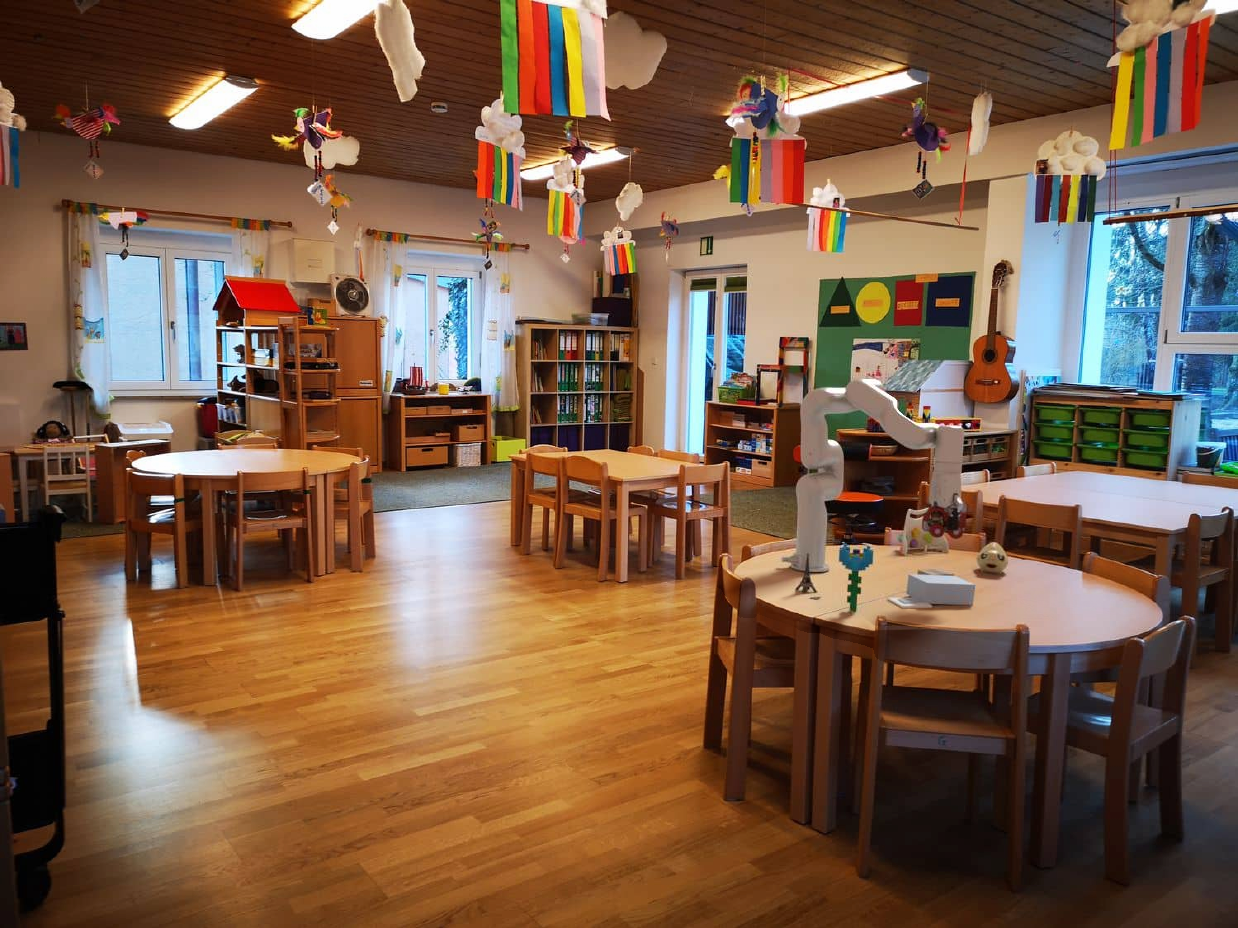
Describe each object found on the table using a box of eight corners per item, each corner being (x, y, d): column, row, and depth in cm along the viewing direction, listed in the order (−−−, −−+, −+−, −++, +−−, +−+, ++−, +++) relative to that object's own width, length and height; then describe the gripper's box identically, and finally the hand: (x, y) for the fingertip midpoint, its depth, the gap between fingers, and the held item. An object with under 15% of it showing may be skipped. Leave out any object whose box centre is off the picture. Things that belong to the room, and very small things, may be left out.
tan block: (930, 594, 266) (931, 574, 265) (916, 588, 273) (917, 569, 272) (953, 593, 268) (954, 573, 267) (938, 587, 275) (940, 568, 274)
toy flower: (869, 615, 239) (873, 550, 237) (835, 612, 242) (839, 548, 240) (870, 607, 248) (873, 544, 246) (837, 604, 250) (840, 542, 248)
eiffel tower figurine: (818, 601, 255) (820, 556, 254) (784, 597, 259) (786, 552, 258) (829, 590, 268) (832, 547, 267) (797, 586, 273) (799, 544, 271)
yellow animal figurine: (974, 575, 292) (976, 544, 291) (976, 568, 303) (978, 538, 302) (1006, 579, 288) (1009, 547, 287) (1007, 572, 299) (1009, 541, 298)
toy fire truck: (919, 532, 261) (921, 498, 260) (963, 535, 259) (966, 500, 257) (923, 537, 254) (925, 501, 253) (968, 539, 252) (971, 504, 251)
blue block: (925, 603, 251) (927, 582, 251) (906, 593, 262) (908, 574, 262) (972, 605, 254) (975, 584, 254) (952, 595, 265) (954, 575, 264)
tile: (902, 608, 248) (902, 604, 248) (887, 599, 257) (887, 596, 257) (931, 607, 250) (932, 604, 250) (916, 599, 259) (916, 596, 258)
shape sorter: (929, 552, 331) (932, 505, 330) (949, 557, 322) (952, 509, 320) (886, 554, 324) (889, 507, 322) (905, 560, 314) (908, 511, 313)
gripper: (920, 464, 262) (916, 522, 264) (951, 471, 245) (947, 532, 247) (943, 465, 263) (940, 522, 265) (976, 471, 246) (972, 532, 248)
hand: (943, 527), depth 256 cm, fingers closed on toy fire truck, 8 cm apart
